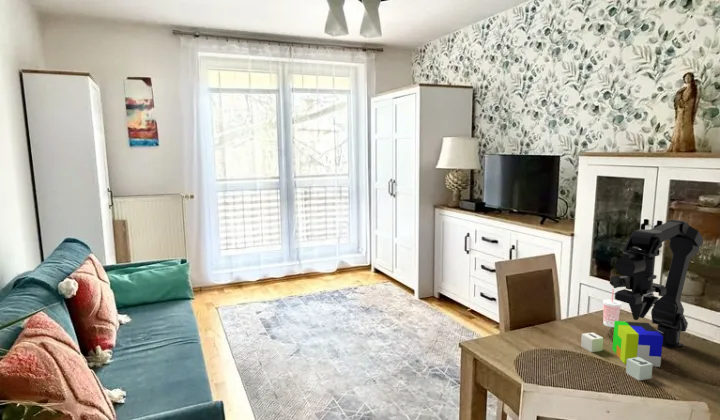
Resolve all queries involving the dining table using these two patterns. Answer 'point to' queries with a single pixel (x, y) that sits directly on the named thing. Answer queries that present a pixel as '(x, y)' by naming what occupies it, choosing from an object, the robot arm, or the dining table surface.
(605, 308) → the beverage cup
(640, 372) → the digit block seven
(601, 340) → the digit block one
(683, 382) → the dining table surface
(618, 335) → the puzzle toy
